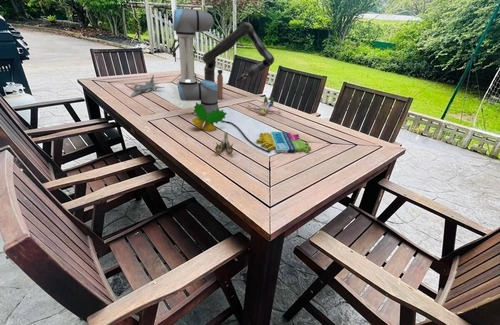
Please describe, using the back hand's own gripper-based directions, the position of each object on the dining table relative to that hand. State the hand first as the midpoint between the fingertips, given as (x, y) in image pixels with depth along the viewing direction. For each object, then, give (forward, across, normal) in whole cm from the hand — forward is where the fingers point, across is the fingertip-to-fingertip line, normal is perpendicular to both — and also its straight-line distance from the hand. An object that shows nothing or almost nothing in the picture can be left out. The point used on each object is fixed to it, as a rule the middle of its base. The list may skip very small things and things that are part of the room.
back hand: (236, 80), depth 222 cm
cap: (+8, +6, -14) cm, 17 cm away
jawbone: (+29, +98, +26) cm, 105 cm away
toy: (-7, +26, +30) cm, 41 cm away
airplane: (+73, -13, -33) cm, 82 cm away
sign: (0, +86, +42) cm, 96 cm away
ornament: (+33, +67, +15) cm, 77 cm away
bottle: (+20, +1, +5) cm, 21 cm away
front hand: (+29, +3, -34) cm, 45 cm away
